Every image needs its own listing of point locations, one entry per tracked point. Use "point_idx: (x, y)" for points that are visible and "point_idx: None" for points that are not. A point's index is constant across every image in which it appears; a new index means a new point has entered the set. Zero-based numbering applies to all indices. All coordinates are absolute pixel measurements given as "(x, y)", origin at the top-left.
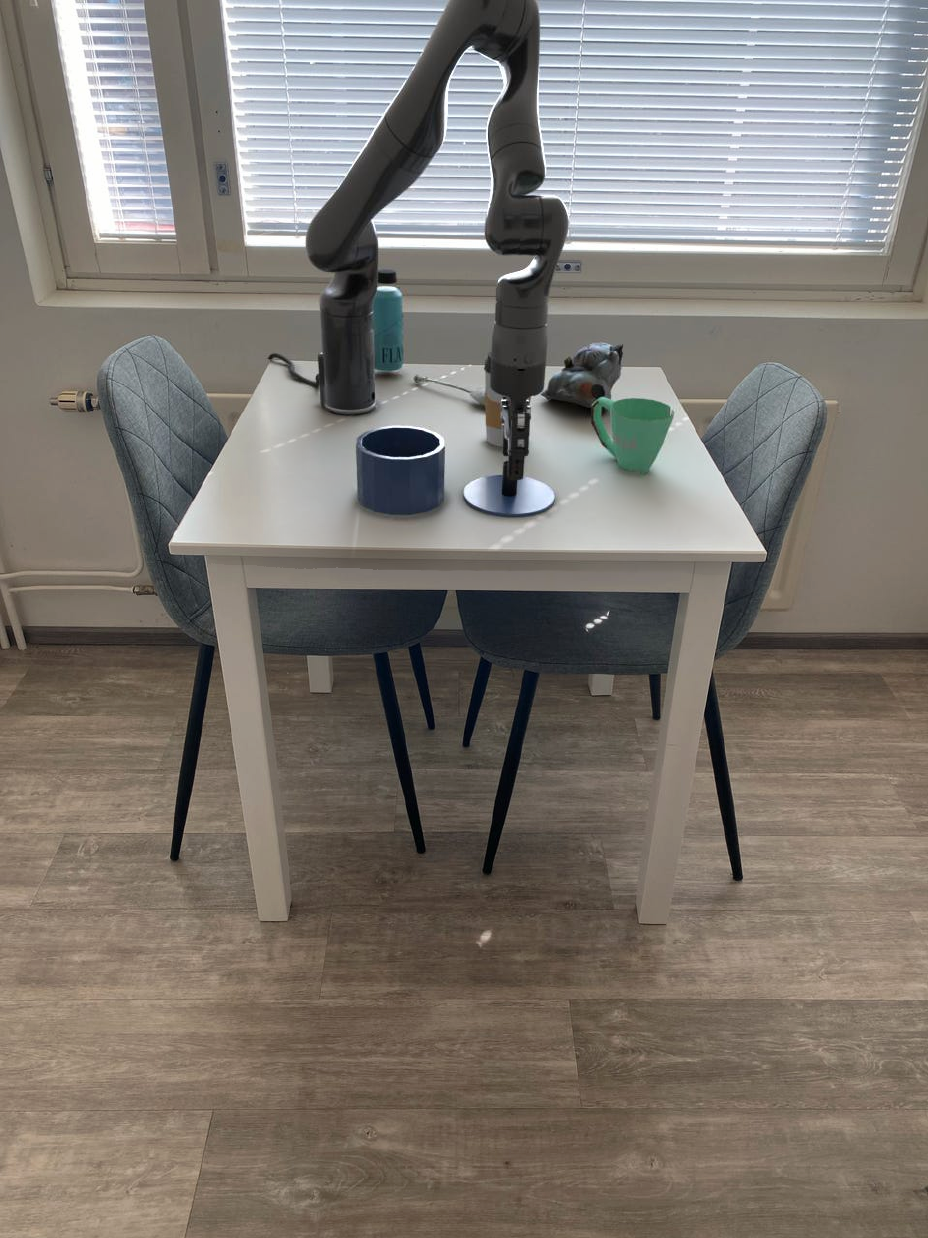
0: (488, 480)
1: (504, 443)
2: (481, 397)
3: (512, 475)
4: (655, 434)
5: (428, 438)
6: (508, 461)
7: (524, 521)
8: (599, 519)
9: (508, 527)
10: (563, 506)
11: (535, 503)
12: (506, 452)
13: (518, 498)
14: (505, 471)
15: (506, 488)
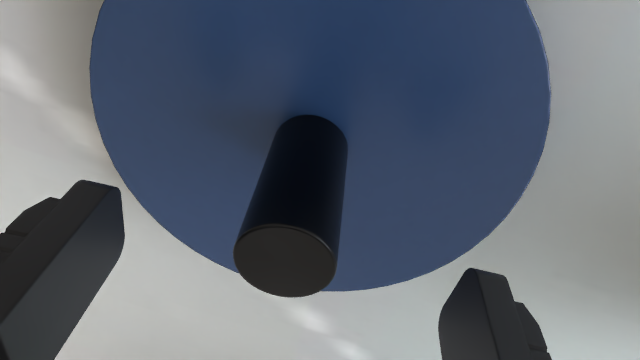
0: (491, 103)
1: (487, 345)
2: None
3: (30, 212)
4: None
5: None
6: (20, 267)
7: None
8: (144, 313)
9: (42, 39)
10: (235, 272)
11: (199, 207)
12: (466, 295)
13: (250, 166)
14: (263, 200)
15: (272, 146)
